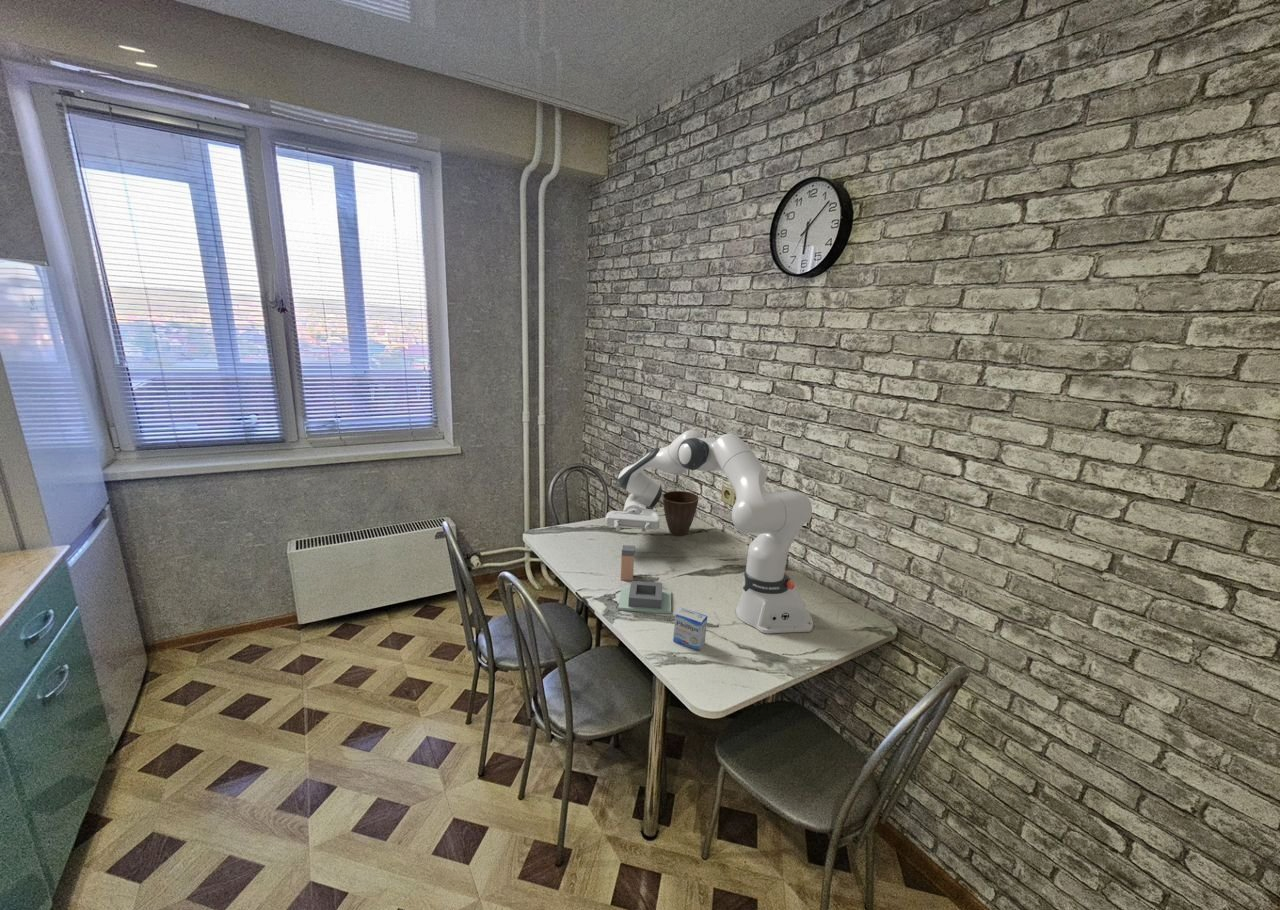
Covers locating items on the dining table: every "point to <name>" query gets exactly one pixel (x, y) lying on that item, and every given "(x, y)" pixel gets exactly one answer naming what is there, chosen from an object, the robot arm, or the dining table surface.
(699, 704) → the dining table surface
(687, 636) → the medicine box
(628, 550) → the plug
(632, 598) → the board
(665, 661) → the dining table surface
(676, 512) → the plant pot
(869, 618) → the dining table surface
